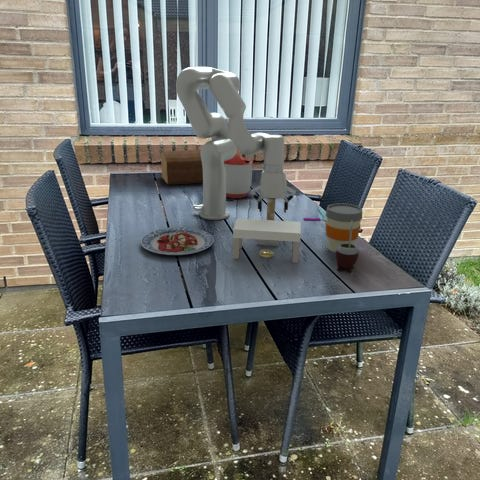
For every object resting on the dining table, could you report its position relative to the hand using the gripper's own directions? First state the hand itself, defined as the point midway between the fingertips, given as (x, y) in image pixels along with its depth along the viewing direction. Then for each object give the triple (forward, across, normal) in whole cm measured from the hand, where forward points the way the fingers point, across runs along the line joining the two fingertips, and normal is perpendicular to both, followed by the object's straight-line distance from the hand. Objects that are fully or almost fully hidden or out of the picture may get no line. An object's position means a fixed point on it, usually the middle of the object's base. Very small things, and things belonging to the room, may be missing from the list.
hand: (272, 211), depth 184 cm
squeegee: (+8, +18, +11) cm, 22 cm away
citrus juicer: (+6, -19, +42) cm, 47 cm away
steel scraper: (+7, -1, -9) cm, 11 cm away
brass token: (+7, -1, -28) cm, 29 cm away
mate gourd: (+8, +25, -35) cm, 43 cm away
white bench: (+7, -1, -27) cm, 28 cm away
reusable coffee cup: (+8, +25, -18) cm, 32 cm away
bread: (+5, -46, +67) cm, 82 cm away
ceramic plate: (+6, -33, -24) cm, 41 cm away
